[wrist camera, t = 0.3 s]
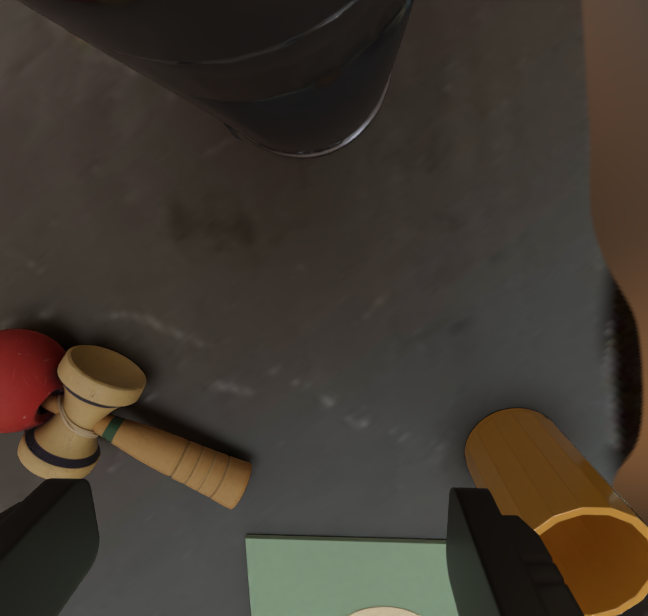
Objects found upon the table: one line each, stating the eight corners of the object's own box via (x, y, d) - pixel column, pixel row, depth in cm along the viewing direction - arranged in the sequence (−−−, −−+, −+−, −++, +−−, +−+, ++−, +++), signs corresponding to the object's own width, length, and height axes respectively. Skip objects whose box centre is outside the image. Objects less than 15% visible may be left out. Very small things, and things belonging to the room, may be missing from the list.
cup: (467, 407, 27) (522, 505, 19) (568, 408, 27) (673, 509, 18) (461, 491, 29) (510, 619, 20) (557, 493, 28) (648, 624, 20)
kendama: (278, 408, 29) (13, 281, 26) (264, 485, 24) (-80, 336, 20) (230, 475, 33) (-13, 371, 29) (207, 556, 27) (-99, 441, 23)
